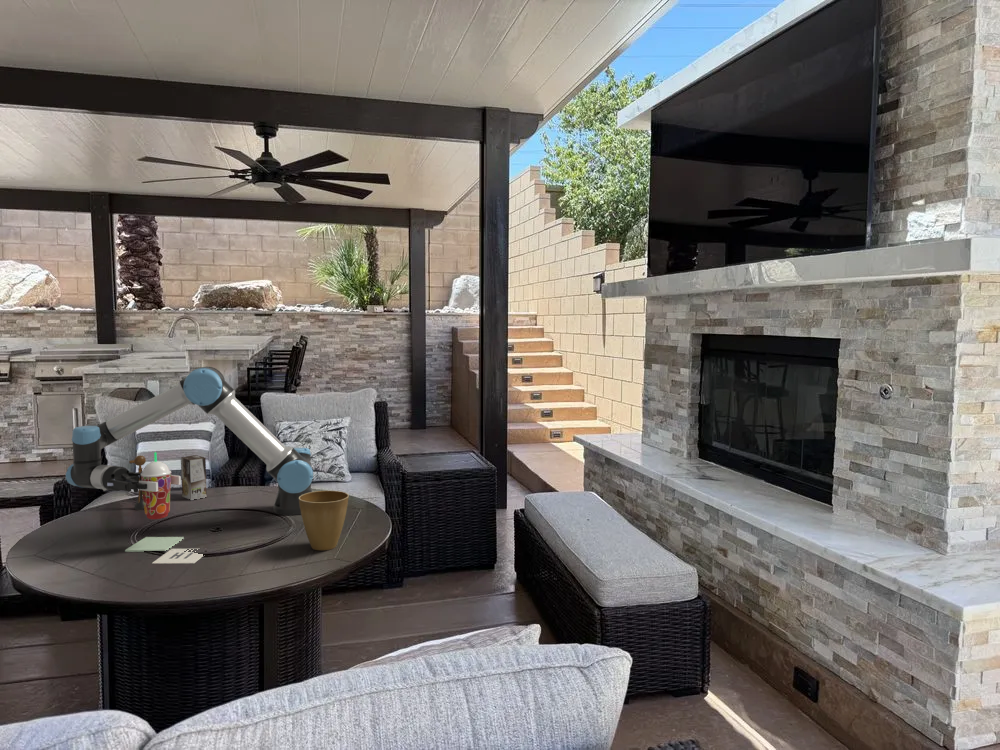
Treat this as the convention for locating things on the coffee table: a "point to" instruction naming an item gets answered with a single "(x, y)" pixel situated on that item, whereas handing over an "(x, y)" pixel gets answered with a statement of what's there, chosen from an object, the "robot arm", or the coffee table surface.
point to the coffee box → (193, 477)
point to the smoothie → (160, 500)
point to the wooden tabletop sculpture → (139, 461)
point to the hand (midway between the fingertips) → (168, 483)
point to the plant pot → (323, 517)
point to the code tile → (178, 557)
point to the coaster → (154, 544)
